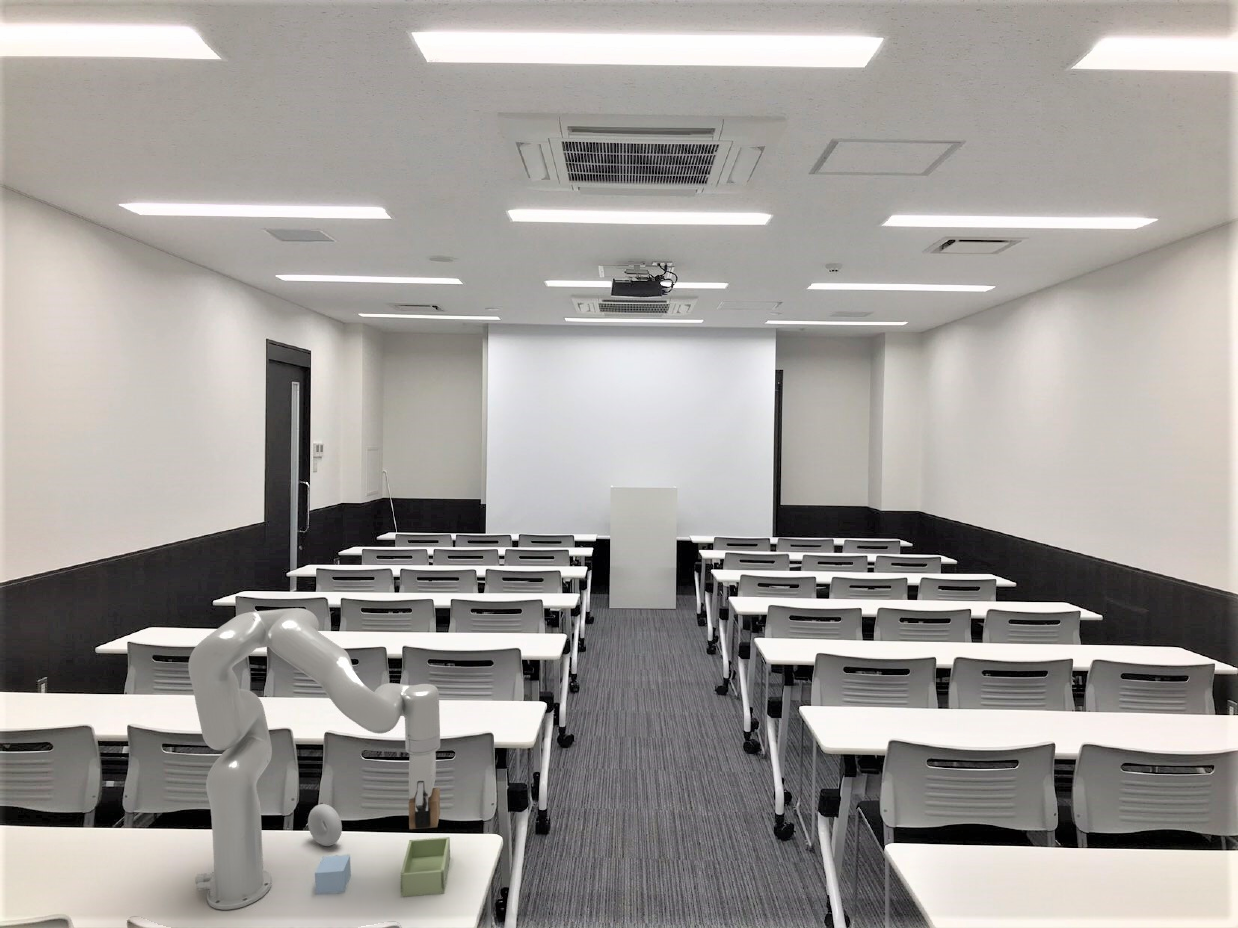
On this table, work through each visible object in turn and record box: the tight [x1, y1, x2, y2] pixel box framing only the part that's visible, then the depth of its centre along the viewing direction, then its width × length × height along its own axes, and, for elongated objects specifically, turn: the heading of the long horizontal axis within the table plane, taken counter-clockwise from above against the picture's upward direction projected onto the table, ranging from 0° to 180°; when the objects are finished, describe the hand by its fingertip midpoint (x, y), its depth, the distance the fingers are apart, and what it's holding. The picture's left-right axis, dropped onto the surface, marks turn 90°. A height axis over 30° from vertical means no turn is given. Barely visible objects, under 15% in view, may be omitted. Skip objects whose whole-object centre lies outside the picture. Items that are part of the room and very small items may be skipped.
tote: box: [399, 836, 451, 898], centre depth 169 cm, size 9×13×5 cm
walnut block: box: [408, 787, 441, 830], centre depth 168 cm, size 6×6×6 cm
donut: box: [307, 803, 343, 847], centre depth 181 cm, size 10×4×10 cm, turn 62°
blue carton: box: [314, 854, 352, 895], centre depth 166 cm, size 6×6×5 cm
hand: (424, 817), depth 168 cm, fingers closed on walnut block, 6 cm apart
